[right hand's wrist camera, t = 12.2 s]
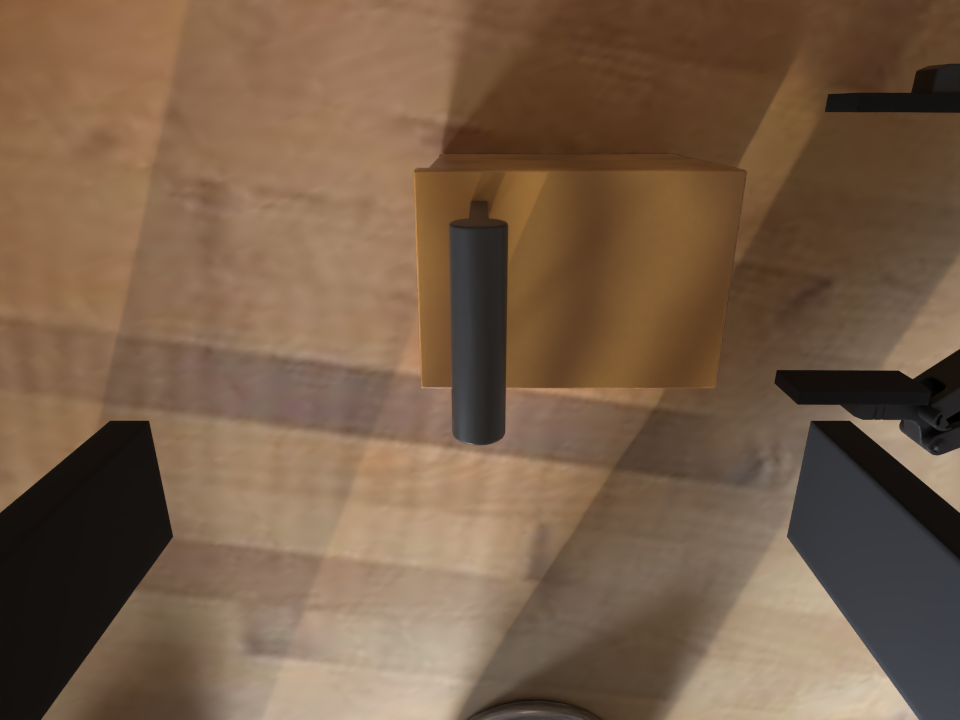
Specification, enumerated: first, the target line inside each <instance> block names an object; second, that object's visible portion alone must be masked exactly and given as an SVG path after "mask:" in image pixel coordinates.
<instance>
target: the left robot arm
mask: <svg viewBox="0 0 960 720" xmlns="http://www.w3.org/2000/svg"><path fill="white" fill-rule="evenodd" d="M825 112H931V113H960V64H944V65H934V66H928V67H925V68H923V69H920V70H918V71H916V75H915V79H914V84H913V88H912V92H911V93H846V94H828V98H827V103H826V109H825ZM775 384H776V385H777V386H778V387H779V388H780V389H781V390H783V391H784V392H785V393H786V394H787V395H788V396H789V397H790V398H791V399H792V400H793V401H794V402H796V403H797V404H798V405H841V406H842V407H843V408H845V409H846V410H847V411H848V412H849V413H851V414H852V415H853V416H855V417H857V418H860V419H862V420H873V419H875V420H881V419H882V420H901V422H900V424H899V427H900V430H901V431H902V432H903V433H904V434H906V435H907V436H908V437H910V438H911V439H912V440H913V441H915V442H916V443H917V444H919V445H920V446H921V447H923V448H924V449H925V450H927V451H928V452H929V453H931V454H933V455H941V454H944V453H947V452H949V451H952V450H955V449H957V448H960V349H959V350H958V351H956V352H954V353H953V354H951V355H950V356H948V357H947V358H945V359H944V360H942V361H940V362H939V363H937V364H936V365H934V366H933V367H931V368H930V369H928V370H926V371H925V372H923V373H922V374H920V375H919V376H917V377H916V378H914V379H911V378H910V377H908V376H906V375H905V374H903V373H901V372H900V371H849V370H777V372H776V378H775ZM469 720H600V719H599V718H597V717H596V716H594V715H592V714H590V713H588V712H586V711H584V710H582V709H579V708H576V707H574V706H570V705H566V704H562V703H557V702H550V701H520V702H513V703H508V704H503V705H500V706H496V707H493V708H490V709H488V710H485V711H483V712H481V713H479V714H477V715H475V716H473V717H472V718H470V719H469Z"/></svg>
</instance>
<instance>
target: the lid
mask: <svg viewBox="0 0 960 720" xmlns="http://www.w3.org/2000/svg"><path fill="white" fill-rule="evenodd" d="M746 173H747V172H746V170H742V169H738V168H417V169H415V170H414V199H415V227H416V255H417V282H418V310H419V338H420V365H421V387H422V388H452V432H453V435H454V437H455V438H456V439H457V440H458V441H460V442H463V443H466V444H470V445H487V444H492V443H495V442H497V441H499V440H501V439H502V438H503V436H504V434H505V409H506V388H715V387H716V380H717V373H718V366H719V359H720V352H721V345H722V338H723V332H724V325H725V318H726V311H727V304H728V297H729V290H730V283H731V276H732V269H733V263H734V256H735V249H736V242H737V235H738V228H739V221H740V214H741V207H742V201H743V194H744V187H745V180H746Z"/></svg>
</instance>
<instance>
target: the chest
mask: <svg viewBox="0 0 960 720" xmlns="http://www.w3.org/2000/svg"><path fill="white" fill-rule="evenodd" d="M430 168H733V167H729V166H724V165H720V164H715V163H711V162H706V161H702V160H697V159H693V158H688V157H684V156H681V155H677V154H440V155H439V158H438V159H437V160H436V161H435V162H434V163H433V164H432V165H431V167H430Z"/></svg>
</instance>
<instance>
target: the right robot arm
mask: <svg viewBox="0 0 960 720" xmlns="http://www.w3.org/2000/svg"><path fill="white" fill-rule="evenodd" d="M172 537H173V534H172V529H171V524H170V520H169V515H168V510H167V505H166V500H165V495H164V491H163V486H162V481H161V476H160V471H159V467H158V462H157V457H156V452H155V447H154V443H153V438H152V433H151V428H150V423H149V421H110V422H108V423H107V424H106V425H105V426H104V427H102V428H101V429H100V430H99V431H98V432H96V433H95V434H94V435H93V436H92V437H90V438H89V439H88V440H87V441H86V442H84V443H83V444H82V445H81V446H80V447H78V448H77V449H76V450H75V451H74V452H72V453H71V454H70V455H69V456H68V457H67V458H65V459H64V460H63V461H62V462H61V463H59V464H58V465H57V466H56V467H55V468H53V469H52V470H51V471H50V472H49V473H47V474H46V475H45V476H44V477H43V478H41V479H40V480H39V481H38V482H37V483H35V484H34V485H33V486H32V487H31V488H29V489H28V490H27V491H26V492H25V493H24V494H22V495H21V496H20V497H19V498H18V499H16V500H15V501H14V502H13V503H12V504H10V505H9V506H8V507H7V508H6V509H4V510H3V511H2V512H1V513H0V720H41V719H42V717H43V716H44V715H45V713H46V712H47V711H48V709H49V708H50V706H51V705H52V704H53V702H54V701H55V699H56V698H57V697H58V695H59V694H60V693H61V691H62V690H63V688H64V687H65V686H66V684H67V683H68V681H69V680H70V679H71V677H72V676H73V675H74V673H75V672H76V670H77V669H78V668H79V666H80V665H81V663H82V662H83V661H84V659H85V658H86V657H87V655H88V654H89V652H90V651H91V650H92V648H93V647H94V645H95V644H96V643H97V641H98V640H99V639H100V637H101V636H102V634H103V633H104V632H105V630H106V629H107V627H108V626H109V625H110V623H111V622H112V621H113V619H114V618H115V616H116V615H117V614H118V612H119V611H120V609H121V608H122V607H123V605H124V604H125V603H126V601H127V600H128V598H129V597H130V596H131V594H132V593H133V591H134V590H135V589H136V587H137V586H138V585H139V583H140V582H141V580H142V579H143V578H144V576H145V575H146V573H147V572H148V571H149V569H150V568H151V566H152V565H153V564H154V562H155V561H156V560H157V558H158V557H159V555H160V554H161V553H162V551H163V550H164V548H165V547H166V546H167V544H168V543H169V542H170V540H171V539H172ZM787 537H788V539H789V540H790V542H791V543H792V544H793V546H794V547H795V548H796V550H797V551H798V553H799V554H800V555H801V557H802V558H803V560H804V561H805V562H806V564H807V565H808V566H809V568H810V569H811V571H812V572H813V573H814V575H815V576H816V578H817V579H818V580H819V582H820V583H821V585H822V586H823V587H824V589H825V590H826V591H827V593H828V594H829V596H830V597H831V598H832V600H833V601H834V603H835V604H836V605H837V607H838V608H839V609H840V611H841V612H842V614H843V615H844V616H845V618H846V619H847V621H848V622H849V623H850V625H851V626H852V627H853V629H854V630H855V632H856V633H857V634H858V636H859V637H860V639H861V640H862V641H863V643H864V644H865V645H866V647H867V648H868V650H869V651H870V652H871V654H872V655H873V657H874V658H875V659H876V661H877V662H878V663H879V665H880V666H881V668H882V669H883V670H884V672H885V673H886V675H887V676H888V677H889V679H890V680H891V681H892V683H893V684H894V686H895V687H896V688H897V690H898V691H899V693H900V694H901V695H902V697H903V698H904V699H905V701H906V702H907V704H908V705H909V706H910V708H911V709H912V711H913V712H914V713H915V715H916V716H917V717H918V719H919V720H960V513H959V512H958V511H957V510H956V509H954V508H953V507H952V506H951V505H950V504H948V503H947V502H946V501H945V500H944V499H942V498H941V497H940V496H939V495H938V494H936V493H935V492H934V491H933V490H932V489H931V488H929V487H928V486H927V485H926V484H925V483H923V482H922V481H921V480H920V479H919V478H917V477H916V476H915V475H914V474H913V473H911V472H910V471H909V470H908V469H907V468H905V467H904V466H903V465H902V464H901V463H899V462H898V461H897V460H896V459H895V458H893V457H892V456H891V455H890V454H889V453H888V452H886V451H885V450H884V449H883V448H882V447H880V446H879V445H878V444H877V443H876V442H874V441H873V440H872V439H871V438H870V437H868V436H867V435H866V434H865V433H864V432H862V431H861V430H860V429H859V428H858V427H856V426H855V425H854V424H853V423H852V422H850V421H811V423H810V428H809V433H808V438H807V443H806V447H805V452H804V457H803V462H802V467H801V471H800V476H799V481H798V486H797V491H796V495H795V500H794V505H793V510H792V515H791V520H790V524H789V529H788V534H787Z"/></svg>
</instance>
